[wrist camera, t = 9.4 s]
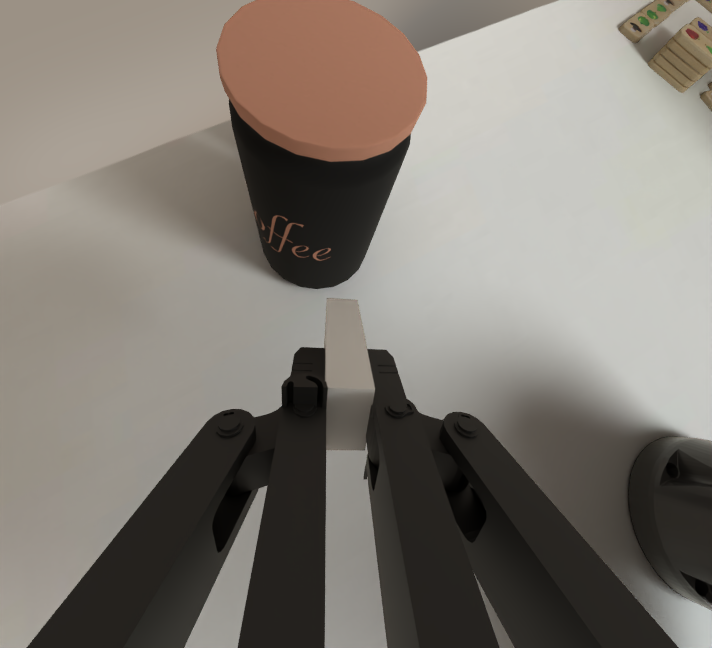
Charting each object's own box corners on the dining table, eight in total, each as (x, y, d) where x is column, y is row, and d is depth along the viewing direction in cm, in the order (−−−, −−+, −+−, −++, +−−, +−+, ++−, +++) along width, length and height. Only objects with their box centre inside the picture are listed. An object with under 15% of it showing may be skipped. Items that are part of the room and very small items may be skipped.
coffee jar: (242, 234, 31) (168, 21, 14) (324, 189, 34) (344, -30, 17) (304, 313, 30) (306, 185, 13) (383, 258, 33) (468, 98, 16)
